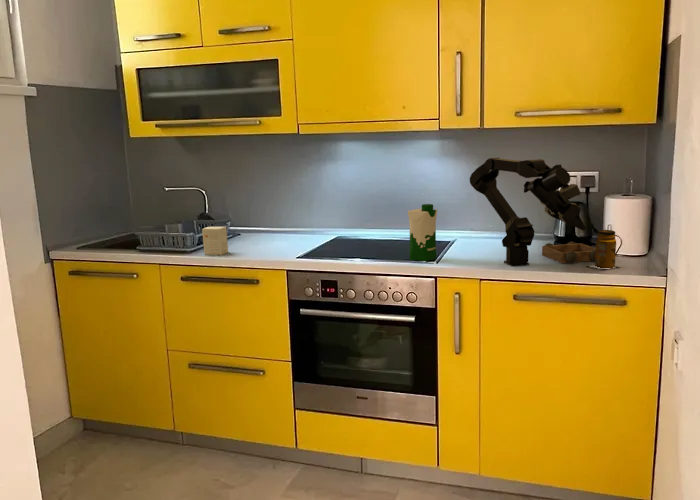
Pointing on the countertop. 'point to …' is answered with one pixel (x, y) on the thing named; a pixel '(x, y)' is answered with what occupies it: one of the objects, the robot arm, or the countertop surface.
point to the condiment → (605, 249)
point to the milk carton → (423, 233)
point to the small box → (215, 240)
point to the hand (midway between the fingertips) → (579, 227)
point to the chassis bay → (569, 252)
